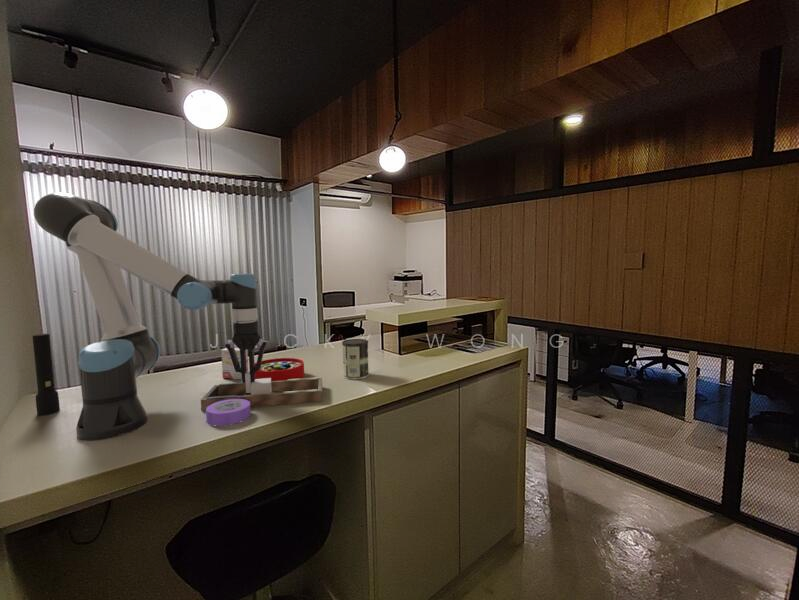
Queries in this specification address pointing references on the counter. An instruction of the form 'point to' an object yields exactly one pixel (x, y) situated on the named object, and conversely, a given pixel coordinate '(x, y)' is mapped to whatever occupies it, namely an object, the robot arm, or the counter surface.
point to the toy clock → (281, 369)
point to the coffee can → (355, 359)
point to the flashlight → (44, 376)
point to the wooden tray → (287, 397)
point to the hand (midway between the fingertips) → (249, 391)
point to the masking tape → (228, 412)
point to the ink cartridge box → (228, 365)
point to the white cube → (261, 386)
